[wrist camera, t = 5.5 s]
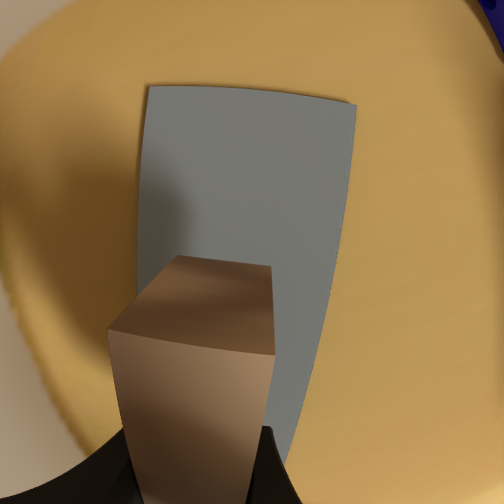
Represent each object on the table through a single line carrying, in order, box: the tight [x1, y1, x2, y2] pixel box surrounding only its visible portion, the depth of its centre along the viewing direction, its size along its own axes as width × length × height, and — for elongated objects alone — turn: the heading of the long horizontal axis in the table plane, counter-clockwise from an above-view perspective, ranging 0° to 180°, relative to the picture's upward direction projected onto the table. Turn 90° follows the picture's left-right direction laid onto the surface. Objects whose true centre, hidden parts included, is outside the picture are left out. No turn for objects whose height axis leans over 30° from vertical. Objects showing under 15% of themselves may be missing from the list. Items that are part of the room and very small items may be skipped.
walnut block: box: [107, 255, 275, 504], centre depth 9 cm, size 3×11×5 cm, turn 174°
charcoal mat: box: [137, 86, 357, 465], centre depth 15 cm, size 24×9×1 cm, turn 174°
